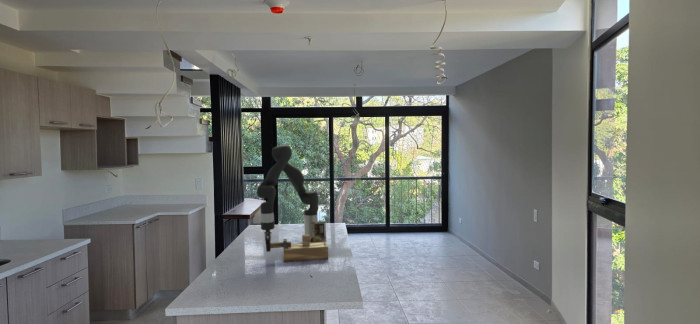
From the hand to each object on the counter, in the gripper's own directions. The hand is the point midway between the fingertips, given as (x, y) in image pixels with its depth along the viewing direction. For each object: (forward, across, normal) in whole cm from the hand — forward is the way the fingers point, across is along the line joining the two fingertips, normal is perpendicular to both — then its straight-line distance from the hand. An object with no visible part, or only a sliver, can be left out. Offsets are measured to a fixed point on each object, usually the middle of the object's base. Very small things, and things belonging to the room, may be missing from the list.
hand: (268, 250), depth 221 cm
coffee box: (+6, -19, +30) cm, 36 cm away
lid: (0, 0, +21) cm, 21 cm away
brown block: (-1, 0, +6) cm, 6 cm away
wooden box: (+6, 0, +21) cm, 22 cm away
